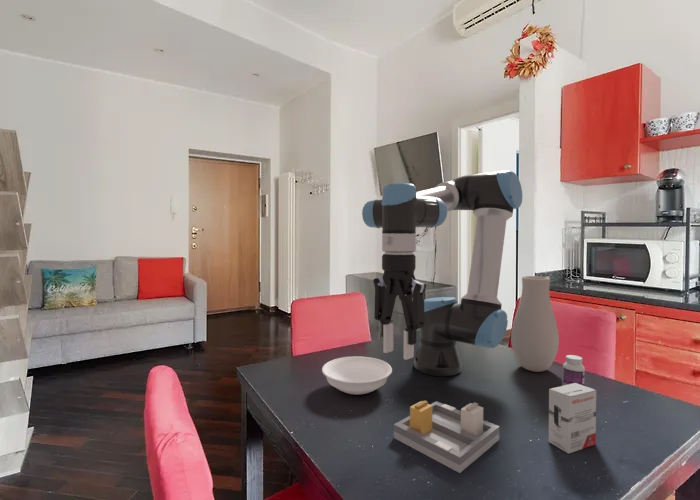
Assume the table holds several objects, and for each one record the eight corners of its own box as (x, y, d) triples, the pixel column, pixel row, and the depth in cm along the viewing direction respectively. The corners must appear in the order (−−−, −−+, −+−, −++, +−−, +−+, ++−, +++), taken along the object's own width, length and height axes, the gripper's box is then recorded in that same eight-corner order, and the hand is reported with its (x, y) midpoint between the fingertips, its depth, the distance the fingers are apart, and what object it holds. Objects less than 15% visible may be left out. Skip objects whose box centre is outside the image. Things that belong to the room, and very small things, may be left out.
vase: (548, 362, 125) (551, 275, 124) (565, 378, 112) (567, 280, 110) (506, 360, 128) (507, 274, 126) (517, 375, 114) (519, 279, 113)
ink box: (574, 433, 82) (575, 381, 81) (596, 445, 77) (598, 389, 76) (546, 441, 78) (548, 387, 78) (568, 454, 74) (569, 397, 73)
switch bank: (393, 437, 80) (393, 423, 80) (435, 413, 91) (436, 400, 91) (459, 473, 68) (459, 456, 68) (499, 439, 79) (499, 425, 79)
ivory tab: (460, 433, 79) (460, 406, 78) (470, 426, 81) (470, 400, 81) (473, 439, 76) (473, 411, 76) (482, 432, 79) (483, 404, 79)
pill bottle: (587, 395, 100) (588, 361, 100) (566, 394, 101) (567, 359, 101) (579, 387, 105) (580, 354, 105) (559, 386, 106) (560, 353, 106)
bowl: (406, 389, 105) (406, 367, 104) (360, 414, 90) (360, 389, 90) (354, 371, 118) (354, 351, 118) (307, 390, 104) (307, 368, 103)
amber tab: (409, 431, 80) (409, 404, 79) (420, 424, 82) (421, 398, 82) (421, 436, 77) (421, 409, 77) (432, 429, 80) (432, 402, 80)
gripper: (358, 252, 87) (358, 348, 88) (422, 255, 73) (421, 369, 75) (379, 251, 92) (379, 342, 93) (443, 254, 79) (442, 361, 80)
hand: (398, 354), depth 84 cm, fingers open, 5 cm apart
